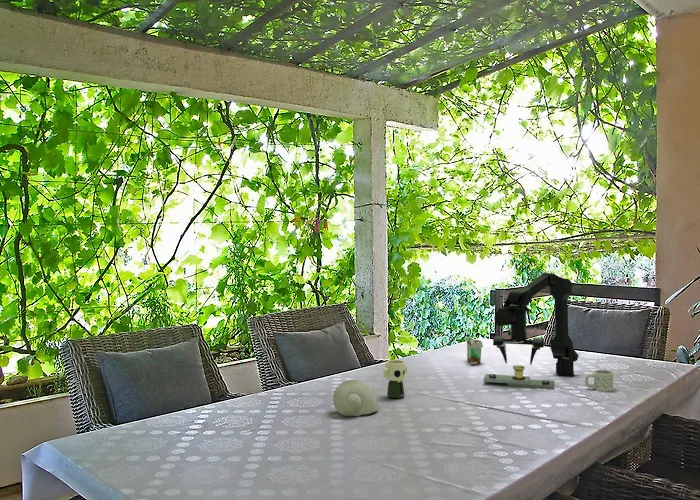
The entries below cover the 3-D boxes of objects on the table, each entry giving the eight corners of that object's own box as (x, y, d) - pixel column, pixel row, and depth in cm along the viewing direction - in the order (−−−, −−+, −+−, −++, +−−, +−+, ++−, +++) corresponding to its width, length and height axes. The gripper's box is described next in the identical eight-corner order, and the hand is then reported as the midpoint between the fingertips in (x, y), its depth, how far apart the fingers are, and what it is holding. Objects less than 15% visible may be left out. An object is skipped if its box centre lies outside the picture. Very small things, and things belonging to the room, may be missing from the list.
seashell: (334, 433, 220) (332, 405, 211) (334, 399, 231) (332, 371, 222) (379, 431, 220) (379, 403, 211) (377, 398, 231) (377, 369, 222)
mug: (610, 387, 248) (610, 370, 248) (615, 392, 242) (615, 374, 242) (582, 387, 249) (582, 369, 249) (587, 391, 243) (587, 373, 243)
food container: (485, 366, 287) (485, 343, 287) (471, 366, 288) (471, 343, 287) (480, 360, 300) (480, 338, 299) (466, 360, 300) (466, 338, 300)
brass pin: (525, 383, 256) (525, 365, 256) (524, 386, 252) (524, 368, 252) (513, 382, 258) (513, 365, 257) (512, 385, 253) (512, 367, 253)
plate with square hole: (554, 384, 254) (554, 375, 254) (553, 389, 247) (553, 380, 247) (486, 379, 263) (486, 372, 263) (483, 384, 255) (483, 376, 255)
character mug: (390, 401, 232) (390, 365, 232) (378, 397, 238) (377, 362, 237) (413, 396, 239) (413, 361, 238) (400, 392, 245) (400, 358, 244)
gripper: (544, 321, 259) (544, 361, 259) (495, 320, 264) (496, 358, 265) (543, 325, 248) (543, 367, 249) (492, 324, 254) (493, 364, 254)
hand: (518, 364), depth 254 cm, fingers open, 9 cm apart
